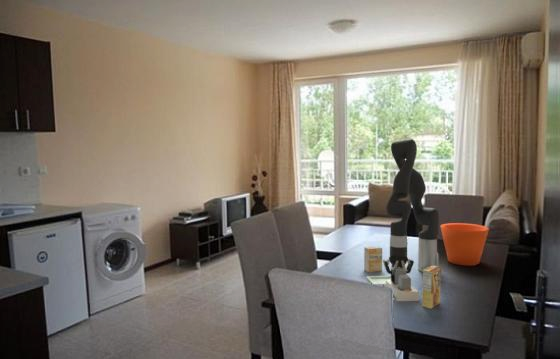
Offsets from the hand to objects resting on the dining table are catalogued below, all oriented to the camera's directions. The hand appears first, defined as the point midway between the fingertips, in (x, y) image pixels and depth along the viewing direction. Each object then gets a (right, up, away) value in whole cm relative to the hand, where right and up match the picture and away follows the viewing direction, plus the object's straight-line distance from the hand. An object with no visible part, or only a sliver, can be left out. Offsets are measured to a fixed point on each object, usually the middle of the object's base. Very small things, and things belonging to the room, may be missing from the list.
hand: (398, 282), depth 185 cm
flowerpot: (+51, 0, +48) cm, 70 cm away
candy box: (+9, -5, -16) cm, 19 cm away
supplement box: (-4, -2, +30) cm, 30 cm away
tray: (-4, -4, +11) cm, 12 cm away
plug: (0, -2, 0) cm, 2 cm away
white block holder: (0, -5, -4) cm, 6 cm away
